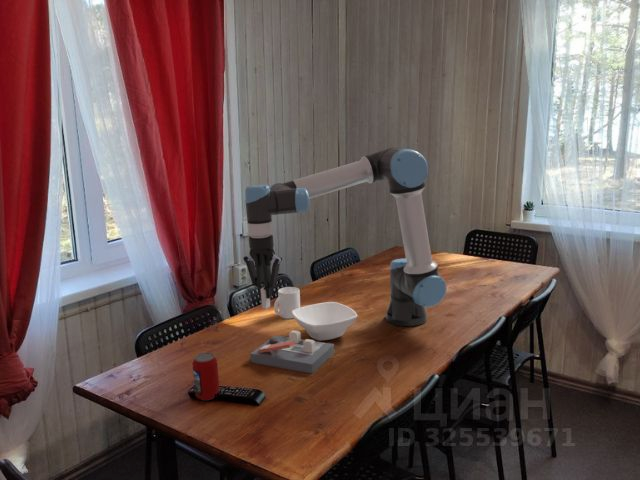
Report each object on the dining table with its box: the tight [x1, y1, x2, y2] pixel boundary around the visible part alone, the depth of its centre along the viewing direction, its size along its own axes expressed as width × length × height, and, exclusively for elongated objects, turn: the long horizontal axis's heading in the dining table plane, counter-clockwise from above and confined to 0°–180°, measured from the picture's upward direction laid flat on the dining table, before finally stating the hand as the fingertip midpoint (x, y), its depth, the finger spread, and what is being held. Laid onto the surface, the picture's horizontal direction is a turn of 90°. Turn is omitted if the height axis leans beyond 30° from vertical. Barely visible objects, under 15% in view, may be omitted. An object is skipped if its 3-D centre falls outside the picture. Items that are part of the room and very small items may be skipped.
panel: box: [249, 334, 335, 374], centre depth 182 cm, size 22×16×4 cm
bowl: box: [292, 301, 358, 342], centre depth 199 cm, size 21×21×9 cm
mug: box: [273, 286, 301, 320], centre depth 218 cm, size 12×8×10 cm
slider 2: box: [303, 338, 316, 353], centre depth 179 cm, size 3×2×3 cm
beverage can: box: [192, 352, 220, 401], centre depth 159 cm, size 7×7×12 cm
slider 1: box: [288, 330, 302, 343], centre depth 187 cm, size 3×2×3 cm
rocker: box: [258, 340, 295, 353], centre depth 179 cm, size 12×4×1 cm, turn 64°
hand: (266, 307), depth 180 cm, fingers closed
